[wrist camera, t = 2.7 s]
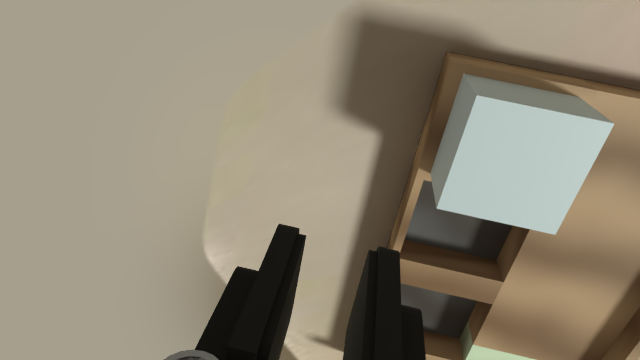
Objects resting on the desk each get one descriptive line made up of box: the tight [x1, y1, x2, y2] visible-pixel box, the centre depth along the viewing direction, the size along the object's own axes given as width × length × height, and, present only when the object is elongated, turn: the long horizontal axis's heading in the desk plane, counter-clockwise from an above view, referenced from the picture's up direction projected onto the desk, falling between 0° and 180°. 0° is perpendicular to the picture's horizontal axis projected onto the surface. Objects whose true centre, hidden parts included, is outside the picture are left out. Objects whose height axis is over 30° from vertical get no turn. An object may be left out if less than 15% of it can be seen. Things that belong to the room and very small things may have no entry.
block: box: [430, 73, 614, 235], centre depth 22 cm, size 6×6×4 cm
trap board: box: [387, 52, 640, 360], centre depth 28 cm, size 26×17×4 cm, turn 170°
